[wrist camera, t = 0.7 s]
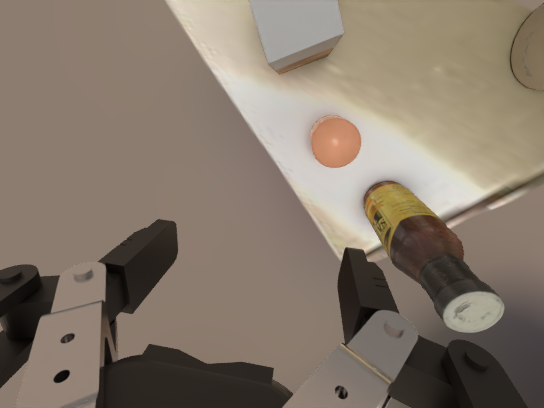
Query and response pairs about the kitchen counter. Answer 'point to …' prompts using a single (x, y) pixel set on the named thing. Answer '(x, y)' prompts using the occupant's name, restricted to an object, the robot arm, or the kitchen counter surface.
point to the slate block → (296, 28)
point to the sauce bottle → (431, 257)
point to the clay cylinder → (335, 141)
